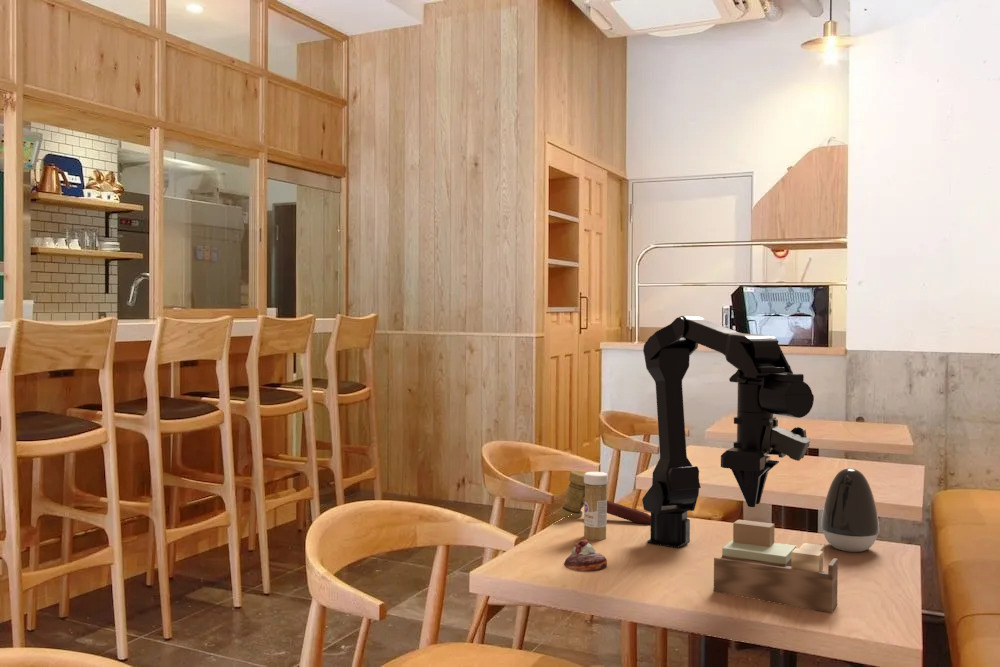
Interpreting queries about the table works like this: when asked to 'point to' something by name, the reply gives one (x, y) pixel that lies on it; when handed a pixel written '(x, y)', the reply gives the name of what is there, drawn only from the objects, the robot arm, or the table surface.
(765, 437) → the robot arm
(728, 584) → the toolbox
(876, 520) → the grey white egg shape
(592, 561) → the pastry
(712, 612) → the table surface
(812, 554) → the tan wooden block
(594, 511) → the sprinkles bottle
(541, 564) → the table surface
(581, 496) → the gavel
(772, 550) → the lid
